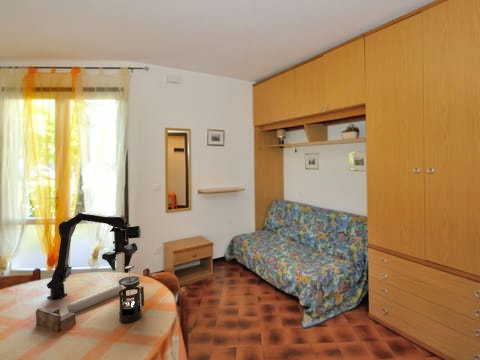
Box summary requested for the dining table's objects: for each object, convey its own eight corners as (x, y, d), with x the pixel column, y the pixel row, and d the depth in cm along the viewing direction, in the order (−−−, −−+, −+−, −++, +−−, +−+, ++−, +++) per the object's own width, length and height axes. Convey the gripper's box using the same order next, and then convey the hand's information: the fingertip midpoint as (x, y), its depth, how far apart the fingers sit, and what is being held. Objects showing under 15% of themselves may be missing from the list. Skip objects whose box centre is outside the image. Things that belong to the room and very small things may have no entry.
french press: (125, 327, 110) (124, 272, 109) (113, 320, 116) (111, 267, 115) (149, 314, 120) (148, 263, 119) (136, 308, 125) (135, 260, 124)
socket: (36, 324, 113) (35, 309, 112) (54, 315, 119) (54, 301, 119) (57, 332, 107) (57, 316, 107) (75, 322, 114) (75, 307, 114)
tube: (71, 308, 119) (123, 287, 139) (65, 301, 122) (117, 281, 142) (69, 318, 120) (121, 295, 140) (64, 311, 123) (116, 290, 143)
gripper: (116, 245, 131) (117, 276, 132) (144, 236, 148) (145, 263, 149) (100, 243, 136) (101, 273, 137) (129, 234, 153) (130, 261, 153)
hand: (121, 267), depth 144 cm, fingers open, 9 cm apart
